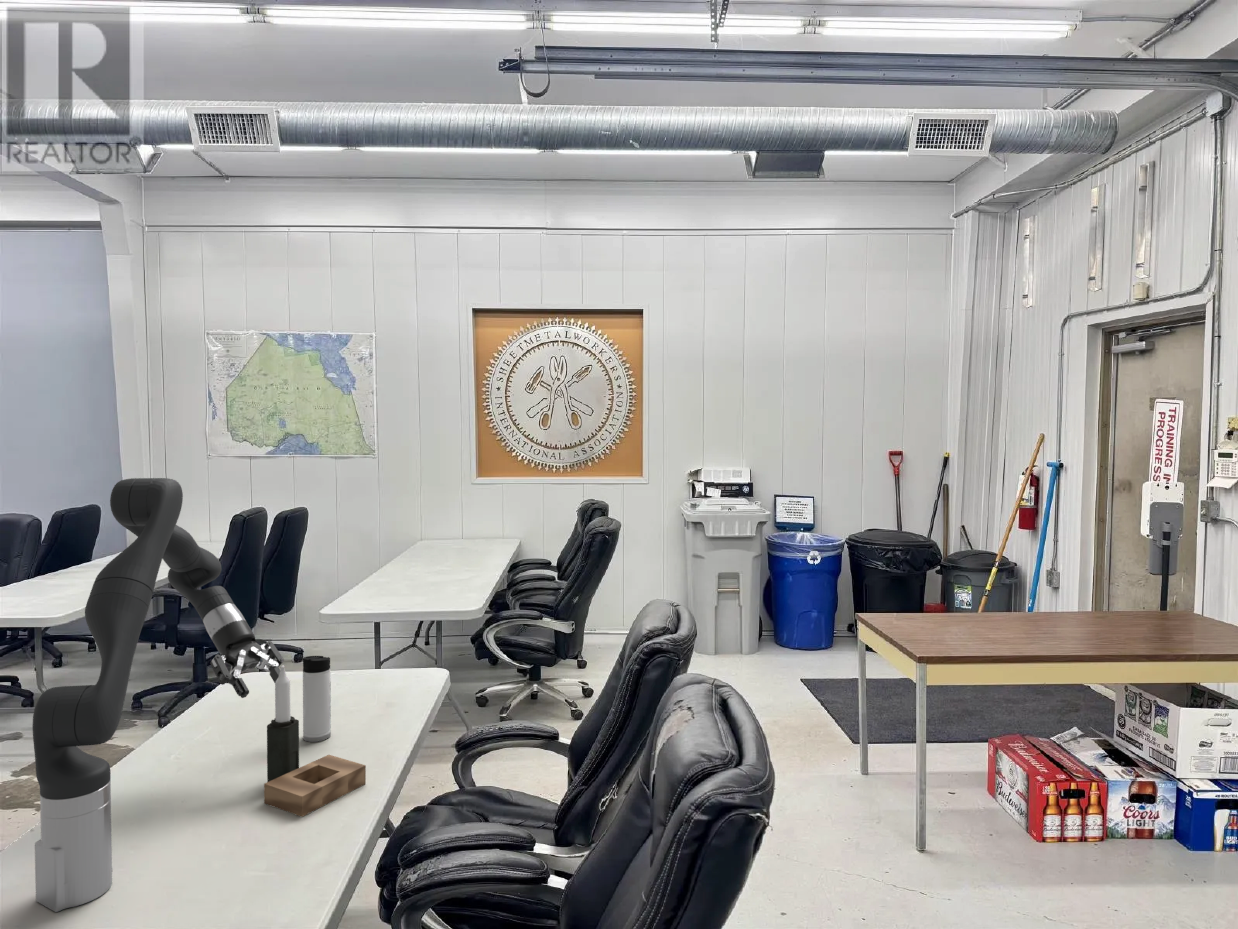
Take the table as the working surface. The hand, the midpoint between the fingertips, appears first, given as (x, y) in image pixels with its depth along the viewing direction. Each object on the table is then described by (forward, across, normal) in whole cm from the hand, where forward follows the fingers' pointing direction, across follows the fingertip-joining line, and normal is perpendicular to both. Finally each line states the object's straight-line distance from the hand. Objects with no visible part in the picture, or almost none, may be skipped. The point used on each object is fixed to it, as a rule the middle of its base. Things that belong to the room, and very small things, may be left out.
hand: (264, 689), depth 164 cm
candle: (+18, 0, +10) cm, 20 cm away
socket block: (+24, 0, +2) cm, 25 cm away
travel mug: (+8, +20, +19) cm, 29 cm away
